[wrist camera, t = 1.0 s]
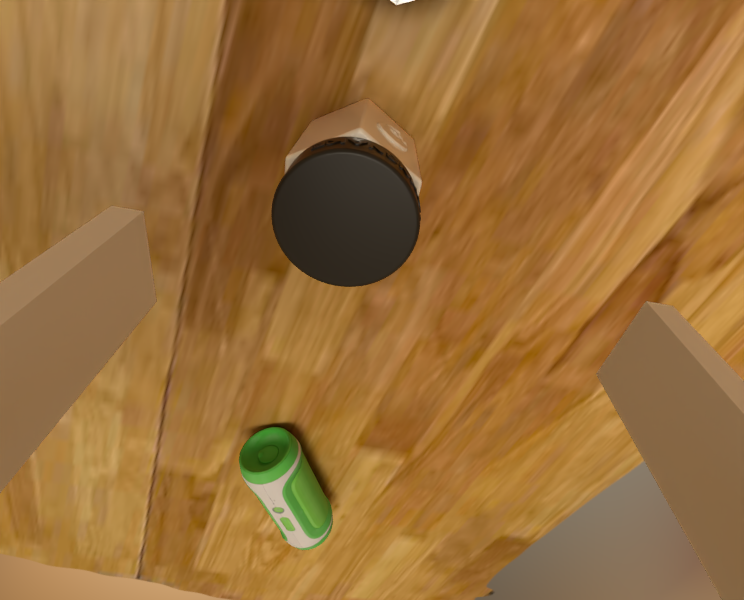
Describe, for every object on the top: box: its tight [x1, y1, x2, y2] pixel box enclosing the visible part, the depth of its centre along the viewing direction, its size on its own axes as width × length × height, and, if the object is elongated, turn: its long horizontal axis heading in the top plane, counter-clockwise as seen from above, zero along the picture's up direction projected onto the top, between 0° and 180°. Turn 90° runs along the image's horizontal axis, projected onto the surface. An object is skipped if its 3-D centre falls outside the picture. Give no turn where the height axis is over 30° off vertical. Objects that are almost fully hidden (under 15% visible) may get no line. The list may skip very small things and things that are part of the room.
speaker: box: [239, 427, 333, 550], centre depth 53 cm, size 18×7×8 cm, turn 12°
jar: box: [272, 99, 422, 287], centre depth 27 cm, size 9×8×12 cm
